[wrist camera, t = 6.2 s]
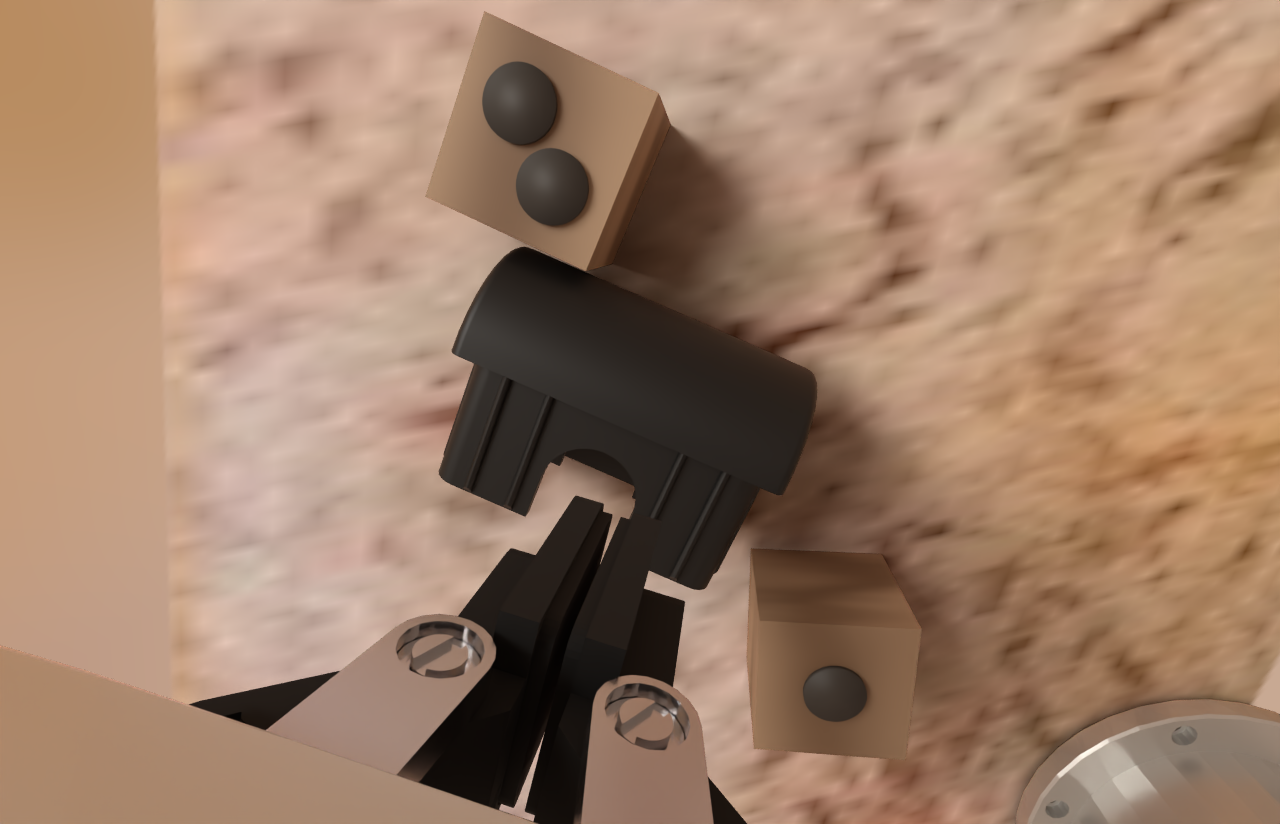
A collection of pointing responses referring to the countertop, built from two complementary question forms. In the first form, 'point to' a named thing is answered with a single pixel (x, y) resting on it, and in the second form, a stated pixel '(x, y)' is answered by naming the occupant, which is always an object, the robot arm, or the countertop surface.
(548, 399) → the black arched block
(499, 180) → the marked block
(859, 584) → the marked block
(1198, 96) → the countertop surface
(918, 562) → the countertop surface
